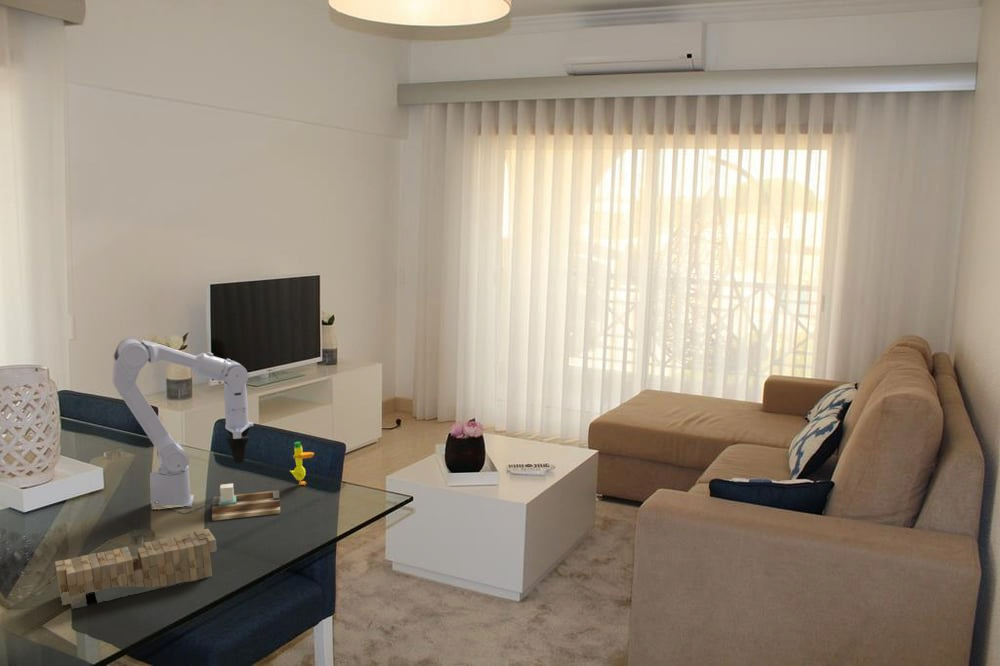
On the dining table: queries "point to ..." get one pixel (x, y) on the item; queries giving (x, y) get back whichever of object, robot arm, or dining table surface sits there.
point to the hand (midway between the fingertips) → (239, 457)
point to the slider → (227, 495)
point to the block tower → (140, 565)
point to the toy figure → (300, 462)
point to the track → (248, 506)
